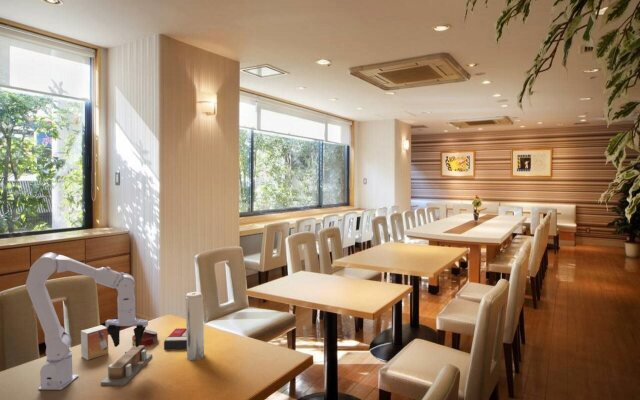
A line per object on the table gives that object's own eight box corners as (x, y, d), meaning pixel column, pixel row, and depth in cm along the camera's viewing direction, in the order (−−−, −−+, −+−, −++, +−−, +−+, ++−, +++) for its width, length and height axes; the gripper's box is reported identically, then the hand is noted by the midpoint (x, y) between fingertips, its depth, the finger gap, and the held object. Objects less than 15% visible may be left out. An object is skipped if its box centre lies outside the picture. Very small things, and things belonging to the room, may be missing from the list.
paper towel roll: (199, 361, 156) (197, 296, 154) (183, 359, 157) (182, 295, 156) (207, 354, 162) (206, 291, 161) (192, 352, 164) (190, 290, 162)
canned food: (136, 350, 177) (137, 326, 181) (160, 347, 178) (161, 323, 182) (126, 348, 166) (127, 323, 170) (152, 344, 167) (152, 319, 171)
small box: (87, 360, 157) (86, 333, 156) (81, 356, 160) (80, 330, 159) (108, 353, 163) (108, 327, 162) (102, 349, 166) (101, 324, 166)
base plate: (124, 385, 138) (123, 372, 138) (100, 385, 138) (100, 372, 138) (152, 356, 160) (151, 345, 160) (131, 356, 160) (131, 345, 160)
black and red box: (200, 327, 182) (191, 338, 167) (200, 336, 182) (191, 349, 167) (174, 327, 182) (163, 339, 167) (174, 337, 182) (163, 350, 167)
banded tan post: (121, 379, 140) (121, 367, 140) (109, 379, 140) (109, 367, 140) (145, 355, 158) (144, 345, 158) (134, 355, 158) (134, 345, 158)
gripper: (151, 305, 152) (152, 341, 153) (112, 305, 152) (113, 341, 153) (142, 311, 145) (143, 349, 145) (101, 311, 145) (103, 349, 146)
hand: (127, 345), depth 149 cm, fingers open, 7 cm apart
